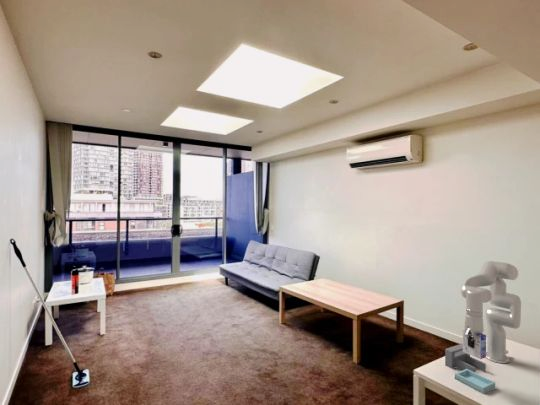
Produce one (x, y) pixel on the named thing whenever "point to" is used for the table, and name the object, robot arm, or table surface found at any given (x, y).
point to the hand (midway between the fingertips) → (474, 345)
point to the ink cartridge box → (475, 346)
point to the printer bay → (462, 359)
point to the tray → (475, 381)
